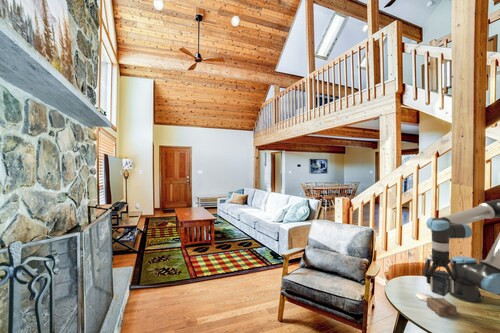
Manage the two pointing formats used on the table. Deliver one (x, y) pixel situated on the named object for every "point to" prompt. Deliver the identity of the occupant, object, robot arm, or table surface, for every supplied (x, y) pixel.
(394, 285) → the table surface
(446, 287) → the box
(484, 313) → the table surface
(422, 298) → the coaster
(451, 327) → the table surface
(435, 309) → the block
